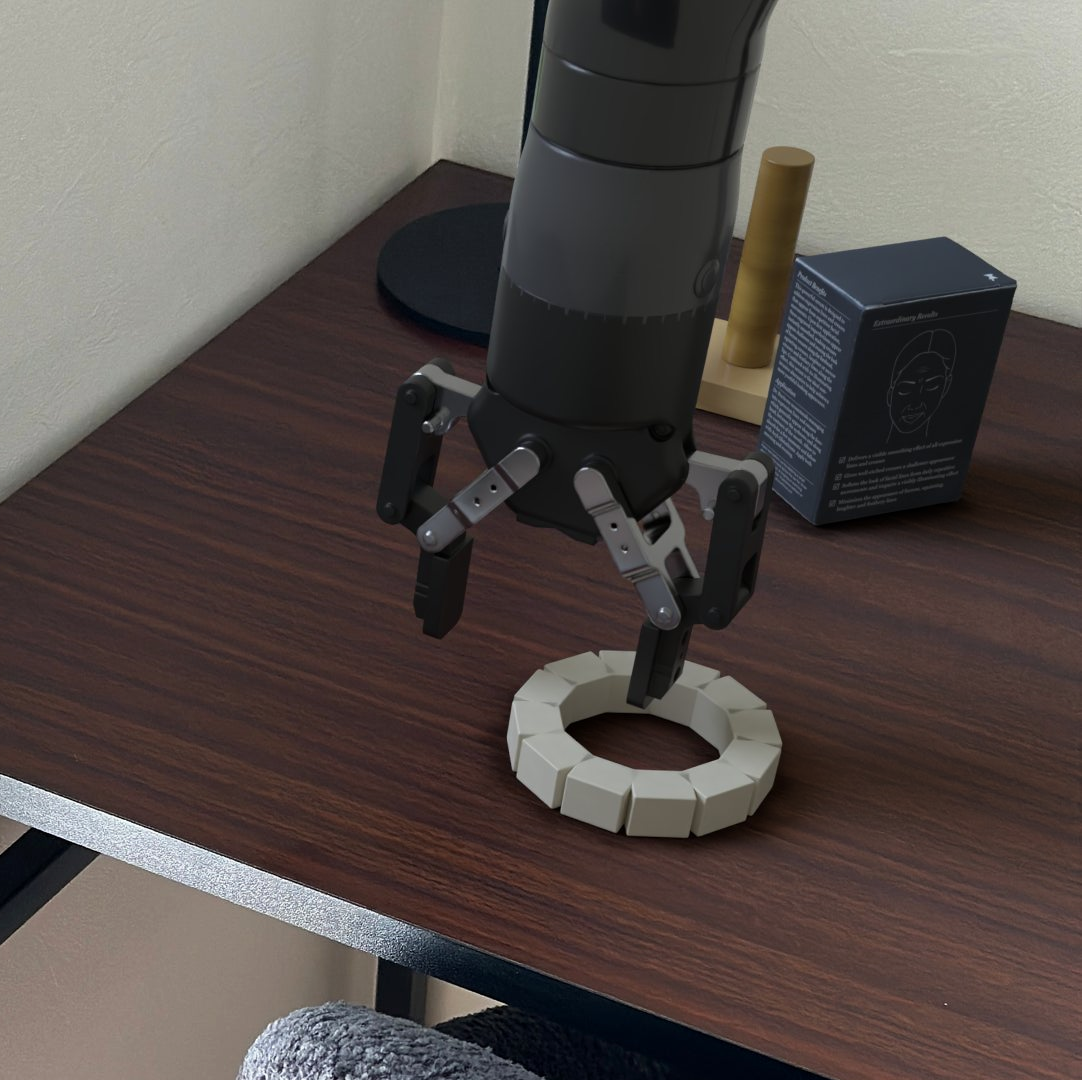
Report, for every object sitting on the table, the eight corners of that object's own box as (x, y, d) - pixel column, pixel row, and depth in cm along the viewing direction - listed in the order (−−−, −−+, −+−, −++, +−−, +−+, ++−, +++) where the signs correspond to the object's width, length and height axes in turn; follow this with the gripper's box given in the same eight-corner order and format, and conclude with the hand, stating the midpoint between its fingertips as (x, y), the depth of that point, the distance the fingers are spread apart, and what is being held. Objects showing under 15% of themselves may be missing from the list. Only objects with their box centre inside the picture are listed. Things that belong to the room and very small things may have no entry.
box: (891, 448, 111) (947, 231, 105) (961, 505, 107) (1024, 283, 100) (745, 471, 109) (793, 251, 102) (811, 530, 105) (865, 305, 98)
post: (832, 377, 117) (886, 148, 110) (784, 432, 112) (838, 197, 105) (698, 342, 120) (743, 116, 112) (646, 394, 115) (689, 162, 108)
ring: (806, 739, 93) (816, 701, 91) (715, 869, 86) (724, 829, 85) (570, 662, 96) (576, 624, 95) (466, 780, 90) (471, 742, 89)
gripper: (849, 276, 80) (749, 678, 91) (471, 177, 86) (418, 567, 96) (773, 355, 75) (676, 770, 86) (377, 245, 81) (331, 648, 91)
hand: (540, 662), depth 91 cm, fingers open, 8 cm apart
